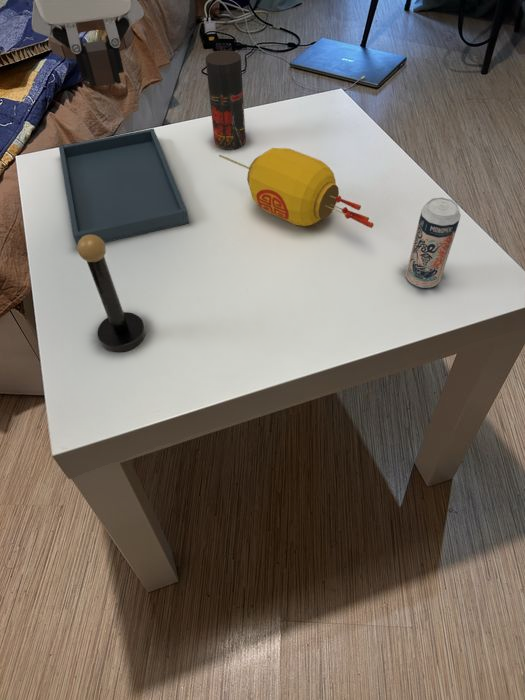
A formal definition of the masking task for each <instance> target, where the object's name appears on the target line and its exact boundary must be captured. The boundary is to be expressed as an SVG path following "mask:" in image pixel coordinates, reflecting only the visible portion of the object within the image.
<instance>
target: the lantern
mask: <svg viewBox="0 0 525 700" xmlns="http://www.w3.org/2000/svg"><path fill="white" fill-rule="evenodd" d="M218 157H219V158H222V159H224V160H226V161H228V162H231V163H234V164H236V165H238V166H240V167H243V168H245V169H248V171H247V179H246V180H247V185H248V186H249V192H250V195H251V198H252V201H253V202H255V203H256V204H257V205H258V206H259V207H260V208H261V209H262V210H264V212H267V213H269V214H271V215H273V216H274V217H278V218H280V219H282V220H284V221H286V222H288V223H291V224H293V225H295V226H303V227H307V226H312V225H314V224H316V223H318V222H320V221H321V220H324V219H327V218H328V217H329V216H330V215H331V214H332V212H333V211H336V212H338V213H340V214H343V215H344V217H345V218H346V219H347V220H348V219H352V220H354V221H355V222H358V223H359V224H362V225H364V226H365V227H367V228H369V229H372V228H373V227H374V225H375V224H374V222H371V221H369V220H370V217H368V216H365V215H363V214H360V213H357V212H354V211H353V210H352V211H351V210H349V209H348V207H347V206H349V207H350V208H352V209H355V210H357V211H360V210H361V208H362V205H361V204H358V203H355V202H353V201H349V200H347V199H343V198H342V196H341V195H339V187H338V185H337V183H336V177H335V174H334V171H333V170H332V169H331V167H329V166H328V165H327V164H326V163H324V162H323V161H322V160H321V159H318V158H315V157H312V156H310V155H307V154H305V153H302V152H299V151H297V150H295V149H292V148H286V147H284V148H283V147H271V148H270V149H268V150H267V151H265V152H264V153H262V154H260V155H258V156H256V158H254V159H253V161H252V163H251V164H250V166H247V165H246V164H243V163H240V162H238V161H236V160H234V159H231V158H229V157H227V156H224V155H222V154H219V155H218ZM339 203H343V204H345V205H347V206H345V207H343V208H341V207H339V206H337V204H339ZM338 209H339V210H338ZM340 210H341V211H340Z"/></svg>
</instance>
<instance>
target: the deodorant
mask: <svg viewBox="0 0 525 700" xmlns="http://www.w3.org/2000/svg"><path fill="white" fill-rule="evenodd" d="M205 67H206V76H207V83H208V85H207V86H208V95H209V105H210V113H211V122H212V133H213V140H214V146H215V147H216V148H218V149H221V150H224V151H234V150H238V149H240V148H242V147H243V146H245V144H246V142H247V140H246V139H247V138H246V136H247V135H246V121H245V120H246V119H245V103H244V102H245V101H244V88H243V87H244V86H243V71H242V56H241V54H240V53H239V52H238V51H235V50H228V49H227V50H225V49H224V50H223V49H222V50H215V51H213V52H210V53H208V54H207V55H206V56H205Z"/></svg>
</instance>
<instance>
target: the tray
mask: <svg viewBox="0 0 525 700" xmlns="http://www.w3.org/2000/svg"><path fill="white" fill-rule="evenodd" d="M58 150H59V156H60V163H61V168H62V175H63V182H64V188H65V194H66V201H67V207H68V213H69V218H70V224H71V231H72V237H73V240H74V241H75V245H76V246H77V245H78V242H79V240H80V239H81V238H82V237H83V236H85V235H90V234H91V235H96V236H98V237H100V238H101V239H102V240H103V241H104V243H106V242H107V243H108V242H112V241H116V240H120V239H125V238H129V237H134V236H138V235H143V234H147V233H152V232H156V231H161V230H165V229H169V228H174V227H178V226H182V225H187V224H190V220H189V215H188V210H187V207H186V204H185V202H184V199H183V197H182V195H181V192H180V189H179V187H178V185H177V183H176V180H175V177H174V175H173V173H172V171H171V168H170V165H169V163H168V160H167V158H166V155H165V153H164V150H163V148H162V146H161V143H160V140H159V139H158V136H157V132H156V130H155V129H154V128H149V129H144V130H143V129H142V130H139V131H133V132H127V133H123V134H117V135H112V136H107V137H102V138H96V139H90V140H85V141H80V142H74V143H70V144H69V143H68V144H64V145H59V146H58Z"/></svg>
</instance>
